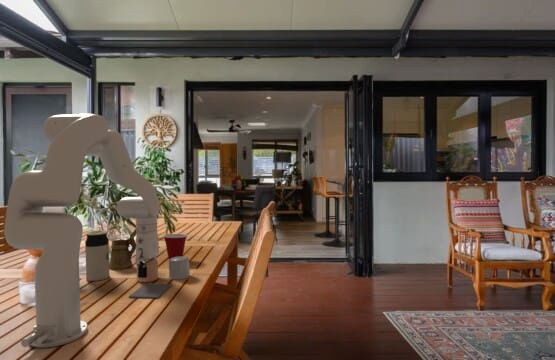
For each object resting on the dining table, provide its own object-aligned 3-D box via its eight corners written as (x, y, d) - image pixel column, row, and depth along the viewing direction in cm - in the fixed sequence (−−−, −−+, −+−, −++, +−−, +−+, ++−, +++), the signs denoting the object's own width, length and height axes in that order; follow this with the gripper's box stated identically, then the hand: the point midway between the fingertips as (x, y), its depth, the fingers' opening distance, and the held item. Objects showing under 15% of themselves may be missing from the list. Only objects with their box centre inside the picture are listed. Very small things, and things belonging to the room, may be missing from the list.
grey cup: (185, 279, 128) (184, 261, 128) (167, 279, 129) (166, 261, 128) (191, 273, 135) (191, 256, 135) (174, 273, 136) (173, 256, 135)
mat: (157, 298, 110) (157, 297, 110) (128, 297, 111) (128, 296, 111) (172, 285, 122) (172, 284, 122) (145, 284, 123) (145, 283, 123)
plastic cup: (192, 257, 158) (192, 232, 158) (180, 264, 148) (179, 237, 147) (171, 256, 161) (171, 231, 161) (158, 262, 151) (158, 236, 150)
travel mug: (81, 281, 126) (80, 234, 126) (93, 274, 134) (92, 230, 134) (102, 281, 126) (101, 234, 125) (113, 274, 134) (112, 230, 133)
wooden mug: (137, 269, 141) (136, 227, 140) (104, 270, 140) (103, 227, 140) (145, 263, 150) (144, 223, 149) (114, 263, 149) (113, 223, 148)
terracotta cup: (152, 282, 125) (152, 263, 124) (134, 281, 125) (133, 263, 125) (160, 276, 132) (160, 258, 131) (142, 275, 132) (142, 258, 132)
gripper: (145, 232, 119) (146, 282, 119) (165, 224, 136) (166, 267, 137) (125, 232, 119) (126, 281, 120) (147, 224, 137) (148, 267, 137)
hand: (147, 273), depth 128 cm, fingers closed on terracotta cup, 7 cm apart
